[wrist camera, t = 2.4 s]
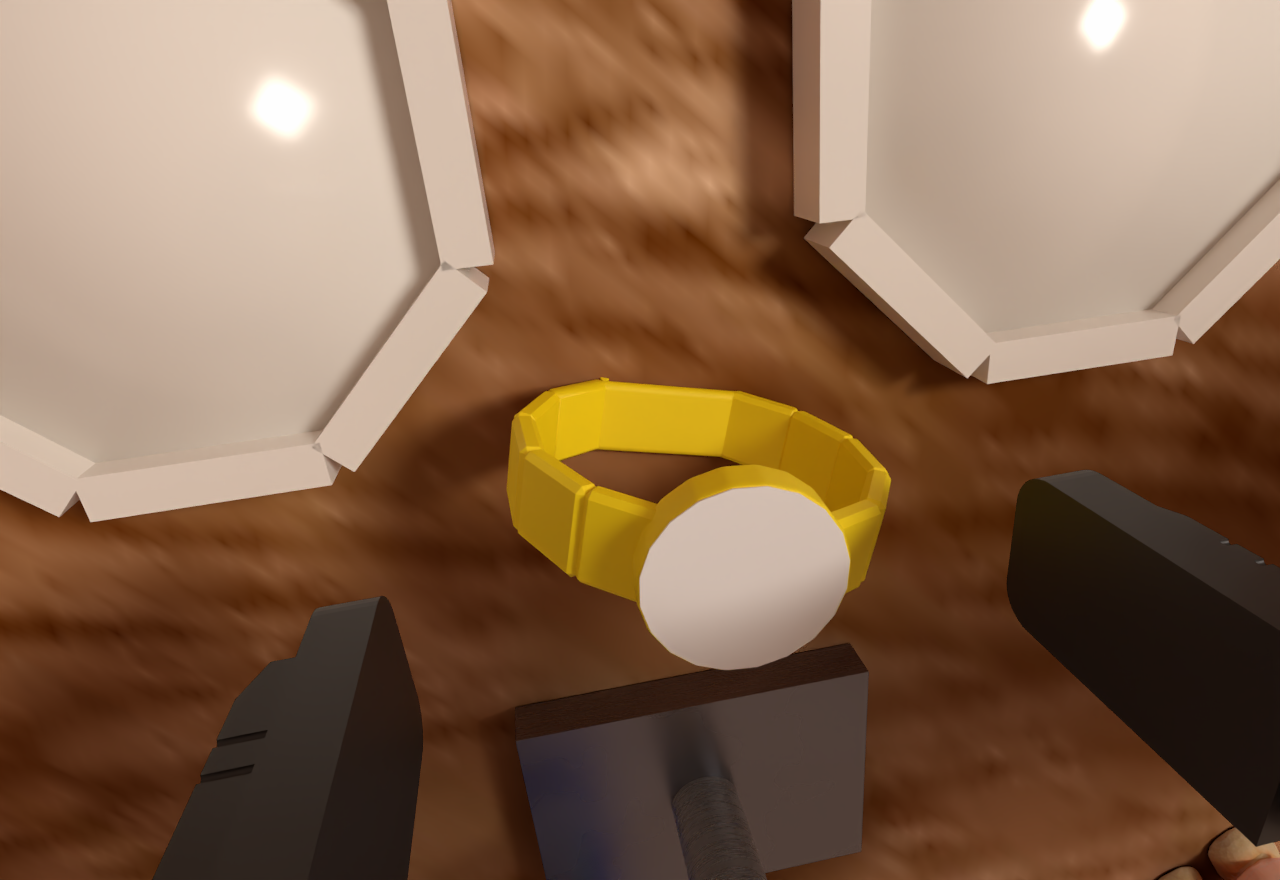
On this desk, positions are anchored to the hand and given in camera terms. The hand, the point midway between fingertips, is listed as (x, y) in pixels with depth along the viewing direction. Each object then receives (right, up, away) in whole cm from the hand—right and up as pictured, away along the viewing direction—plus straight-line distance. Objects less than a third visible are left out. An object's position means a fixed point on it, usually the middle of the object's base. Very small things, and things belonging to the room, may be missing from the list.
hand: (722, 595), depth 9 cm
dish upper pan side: (+7, +9, +4) cm, 12 cm away
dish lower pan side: (-9, +6, +2) cm, 11 cm away
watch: (-1, +2, +5) cm, 6 cm away
